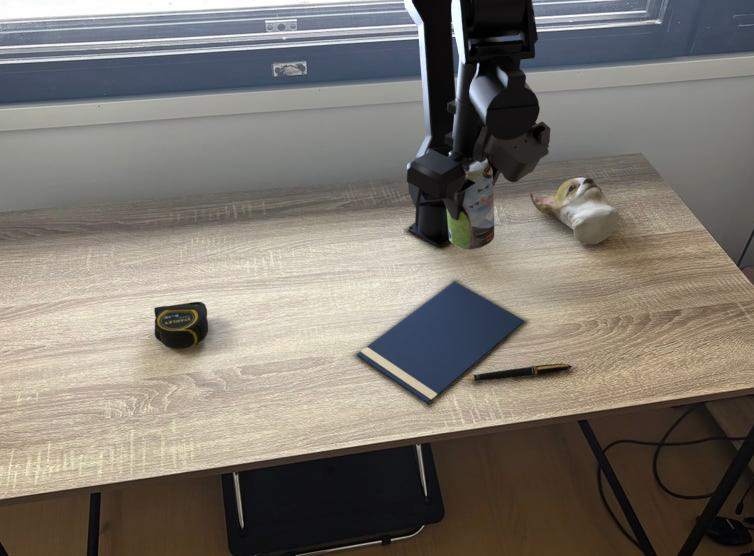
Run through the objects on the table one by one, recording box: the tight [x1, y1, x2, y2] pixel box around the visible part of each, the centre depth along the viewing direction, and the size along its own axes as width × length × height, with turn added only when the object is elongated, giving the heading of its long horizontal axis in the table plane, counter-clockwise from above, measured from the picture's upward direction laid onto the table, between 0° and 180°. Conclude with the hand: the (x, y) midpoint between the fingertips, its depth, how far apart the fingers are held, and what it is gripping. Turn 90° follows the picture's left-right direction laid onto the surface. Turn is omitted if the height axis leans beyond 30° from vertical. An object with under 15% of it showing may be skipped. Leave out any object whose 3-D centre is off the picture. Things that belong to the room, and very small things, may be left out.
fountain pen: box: [462, 363, 573, 382], centre depth 91 cm, size 14×1×2 cm, turn 99°
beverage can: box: [447, 158, 495, 251], centre depth 94 cm, size 6×7×12 cm
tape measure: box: [153, 301, 209, 350], centre depth 95 cm, size 7×7×4 cm
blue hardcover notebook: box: [356, 281, 525, 405], centre depth 96 cm, size 12×20×1 cm, turn 136°
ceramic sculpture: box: [529, 177, 621, 245], centre depth 111 cm, size 11×9×15 cm
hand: (468, 210), depth 94 cm, fingers closed on beverage can, 5 cm apart
